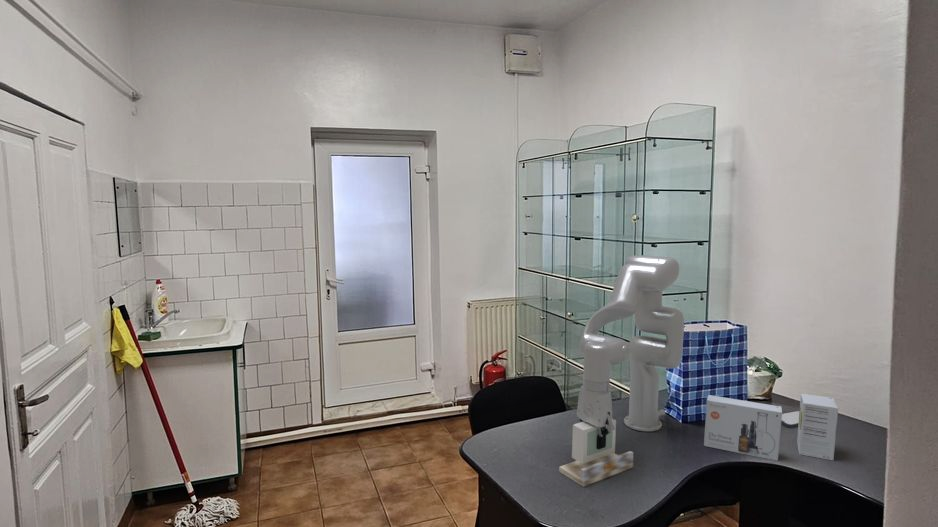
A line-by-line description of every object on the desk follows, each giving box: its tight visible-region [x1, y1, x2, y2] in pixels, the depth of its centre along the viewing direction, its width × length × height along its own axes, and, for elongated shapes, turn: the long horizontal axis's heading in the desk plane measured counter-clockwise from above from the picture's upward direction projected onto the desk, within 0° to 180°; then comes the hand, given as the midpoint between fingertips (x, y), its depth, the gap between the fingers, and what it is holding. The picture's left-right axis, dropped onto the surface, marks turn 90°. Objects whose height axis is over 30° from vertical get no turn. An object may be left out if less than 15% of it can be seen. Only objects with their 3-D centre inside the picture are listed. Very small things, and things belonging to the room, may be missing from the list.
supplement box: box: [796, 393, 839, 461], centre depth 173 cm, size 10×9×17 cm
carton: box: [571, 418, 617, 464], centre depth 163 cm, size 5×13×10 cm, turn 123°
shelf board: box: [558, 450, 634, 487], centre depth 163 cm, size 20×10×5 cm, turn 123°
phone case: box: [781, 410, 800, 429], centre depth 198 cm, size 9×2×16 cm
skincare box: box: [703, 394, 783, 462], centre depth 174 cm, size 21×5×16 cm, turn 62°
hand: (594, 443), depth 163 cm, fingers closed on carton, 4 cm apart
